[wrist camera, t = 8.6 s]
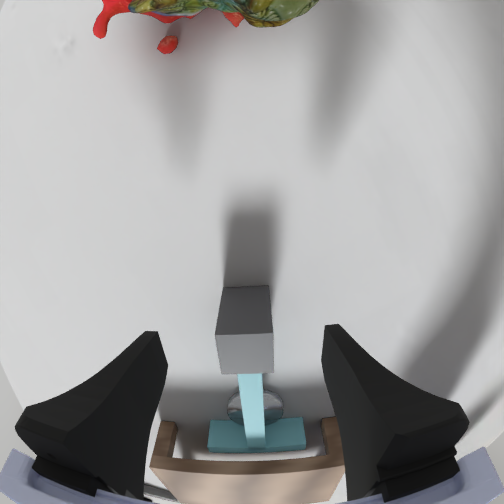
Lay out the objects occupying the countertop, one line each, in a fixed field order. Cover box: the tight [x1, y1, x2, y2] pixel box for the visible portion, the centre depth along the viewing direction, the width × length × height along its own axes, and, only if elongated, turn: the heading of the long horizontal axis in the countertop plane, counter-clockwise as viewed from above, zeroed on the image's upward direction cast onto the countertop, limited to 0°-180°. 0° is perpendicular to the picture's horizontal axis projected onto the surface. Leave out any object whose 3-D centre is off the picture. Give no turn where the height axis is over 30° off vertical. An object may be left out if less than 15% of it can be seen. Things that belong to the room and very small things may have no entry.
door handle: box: [144, 485, 180, 503], centre depth 35 cm, size 3×20×16 cm
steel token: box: [227, 389, 283, 426], centre depth 24 cm, size 5×5×1 cm
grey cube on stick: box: [207, 286, 306, 453], centre depth 20 cm, size 9×16×5 cm, turn 3°
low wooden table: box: [149, 417, 345, 504], centre depth 25 cm, size 18×12×6 cm, turn 93°
